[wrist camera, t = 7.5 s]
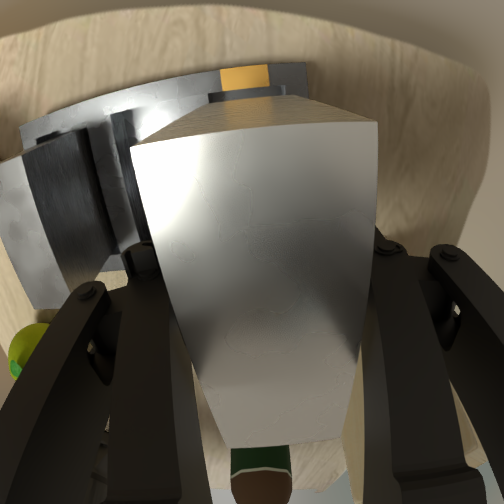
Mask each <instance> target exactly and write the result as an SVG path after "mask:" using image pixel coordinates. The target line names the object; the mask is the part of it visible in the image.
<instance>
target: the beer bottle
mask: <svg viewBox="0 0 504 504" xmlns="http://www.w3.org/2000/svg"><path fill="white" fill-rule="evenodd" d="M230 479H231V491H232V494H233V496H234V499H235V501H236V503H237V504H287V503H288V502H289V499H290V496H291V493H292V472H291V462H290V451H289V445H280V446H268V447H252V448H231V477H230Z"/></svg>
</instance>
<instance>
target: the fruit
mask: <svg viewBox="0 0 504 504" xmlns="http://www.w3.org/2000/svg"><path fill="white" fill-rule="evenodd" d="M49 325H50V324H47V323H35V324H31V325H29V326H26V327H25V328H23V329H21V330H20V331H19V332H18V333H17V334H16V335H15V337H14V338H13V340H12V342H11V344H10V347H9V353H8V363H9V371H10V374H11V376H12V377H13V378H14V379H15V381H16V380H17V378H18V376H19V374H20V373H21V371H22V369H23V367H24V366H25V364H26V362H27V361H28V359H29V357H30V356H31V354H32V352H33V351H34V349H35V347H36V346H37V344H38V342H39V341H40V339H41V338H42V336H43V334H44V333H45V331H46V330H47V328H48V327H49Z"/></svg>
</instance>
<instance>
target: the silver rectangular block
mask: <svg viewBox="0 0 504 504" xmlns="http://www.w3.org/2000/svg"><path fill="white" fill-rule="evenodd" d="M130 149H131V154H132V158H133V163H134V168H135V172H136V176H137V181H138V185H139V189H140V193H141V197H142V202H143V206H144V209H145V213H146V217H147V221H148V225H149V229H150V232H151V236H152V240H153V243H154V247H155V250H156V254H157V257H158V261H159V264H160V268H161V271H162V274H163V278H164V281H165V284H166V287H167V291H168V294H169V297H170V300H171V303H172V306H173V309H174V312H175V315H176V318H177V321H178V324H179V327H180V330H181V333H182V336H183V339H184V342H185V344H186V347H187V350H188V353H189V355H190V358H191V361H192V364H193V366H194V369H195V372H196V374H197V377H198V380H199V382H200V385H201V387H202V390H203V392H204V395H205V397H206V400H207V402H208V405H209V407H210V410H211V412H212V415H213V417H214V419H215V422H216V424H217V426H218V429H219V431H220V433H221V436H222V438H223V440H224V443H225V445H226V447H227V448H252V447H268V446H280V445H290V444H300V443H308V442H315V441H322V440H329V439H335V438H340V437H341V434H342V430H343V426H344V422H345V418H346V414H347V409H348V405H349V401H350V396H351V392H352V387H353V382H354V378H355V373H356V368H357V362H358V357H359V351H360V346H361V340H362V334H363V328H364V321H365V315H366V308H367V300H368V293H369V285H370V276H371V267H372V257H373V246H374V234H375V220H376V203H377V178H378V122H377V121H374V120H372V119H369V118H366V117H363V116H361V115H358V114H355V113H352V112H349V111H346V110H343V109H340V108H337V107H334V106H331V105H327V104H324V103H321V102H317V101H314V100H311V99H307V98H304V97H300V96H296V95H282V96H269V97H258V98H249V99H240V100H231V101H224V102H216V103H210V104H205V105H203V106H201V107H199V108H197V109H195V110H193V111H192V112H190V113H188V114H186V115H184V116H182V117H181V118H179V119H177V120H175V121H174V122H172V123H170V124H168V125H167V126H165V127H163V128H161V129H160V130H158V131H156V132H155V133H153V134H151V135H150V136H148V137H146V138H145V139H143V140H142V141H140V142H138V143H137V144H135V145H134V146H132V147H130Z"/></svg>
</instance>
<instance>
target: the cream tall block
mask: <svg viewBox="0 0 504 504" xmlns="http://www.w3.org/2000/svg"><path fill="white" fill-rule="evenodd" d="M449 381H450V380H449ZM450 385H451V389H452V393H453V397H454V402H455V407H456V411H457V416H458V421H459V426H460V432H461V437H462V443H463V450H464V456H465V460H466V463H467V464H468V466H470V467H473V468H476V467H478V466H480V465H482V464H483V463H485V462H486V461H488V459H487V456H486V454H485V452H484V449H483V447H482V445H481V443H480V440H479V438H478V436H477V434H476V432H475V430H474V427H473V425H472V423H471V421H470V419H469V417H468V415H467V413H466V411H465V409H464V407H463V405H462V403H461V401H460V399H459V397H458V395H457V393H456V391H455V389H454V387H453V386H452V384H451V382H450ZM341 439H342V444H343V449H344V454H345V459H346V465H347V470H348V475H349V481H350V486H351V492H352V497H353V501H354V503H355V504H363V485H364V392H363V371H362V355H361V346H360V351H359V357H358V362H357V368H356V373H355V378H354V382H353V387H352V392H351V396H350V401H349V405H348V409H347V414H346V418H345V422H344V426H343V430H342V434H341Z"/></svg>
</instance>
